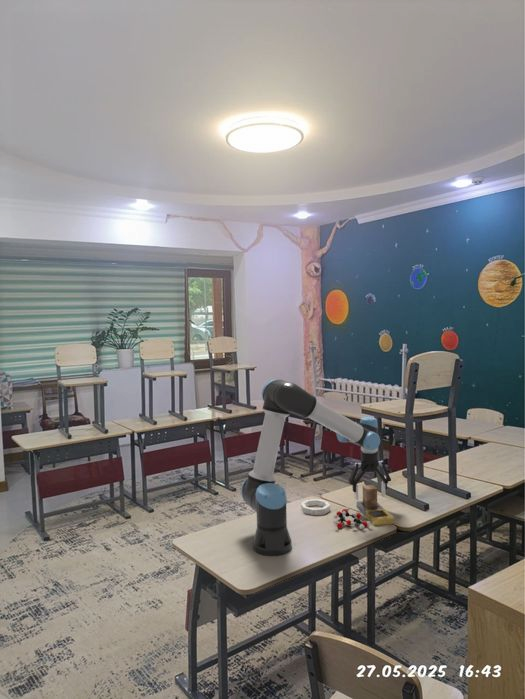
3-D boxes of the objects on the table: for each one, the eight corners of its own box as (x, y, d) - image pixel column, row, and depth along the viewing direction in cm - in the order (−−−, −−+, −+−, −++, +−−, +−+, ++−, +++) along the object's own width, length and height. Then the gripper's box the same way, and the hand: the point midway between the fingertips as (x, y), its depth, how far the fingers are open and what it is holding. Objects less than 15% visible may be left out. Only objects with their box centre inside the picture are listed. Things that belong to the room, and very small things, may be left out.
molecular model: (336, 516, 219) (370, 511, 216) (338, 540, 209) (373, 536, 206) (331, 501, 214) (365, 496, 211) (333, 526, 204) (369, 520, 200)
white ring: (305, 516, 220) (305, 510, 220) (299, 505, 232) (299, 500, 232) (332, 513, 222) (332, 508, 222) (324, 503, 234) (324, 498, 234)
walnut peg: (366, 513, 221) (366, 489, 221) (362, 508, 226) (362, 485, 226) (377, 512, 222) (377, 488, 221) (373, 508, 227) (373, 484, 226)
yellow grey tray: (373, 525, 208) (373, 519, 208) (356, 506, 229) (356, 501, 229) (393, 523, 210) (393, 517, 210) (374, 505, 230) (374, 499, 230)
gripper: (346, 455, 217) (346, 502, 218) (398, 451, 221) (398, 498, 222) (340, 451, 224) (341, 496, 226) (391, 447, 228) (391, 492, 229)
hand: (370, 497), depth 224 cm, fingers open, 12 cm apart
